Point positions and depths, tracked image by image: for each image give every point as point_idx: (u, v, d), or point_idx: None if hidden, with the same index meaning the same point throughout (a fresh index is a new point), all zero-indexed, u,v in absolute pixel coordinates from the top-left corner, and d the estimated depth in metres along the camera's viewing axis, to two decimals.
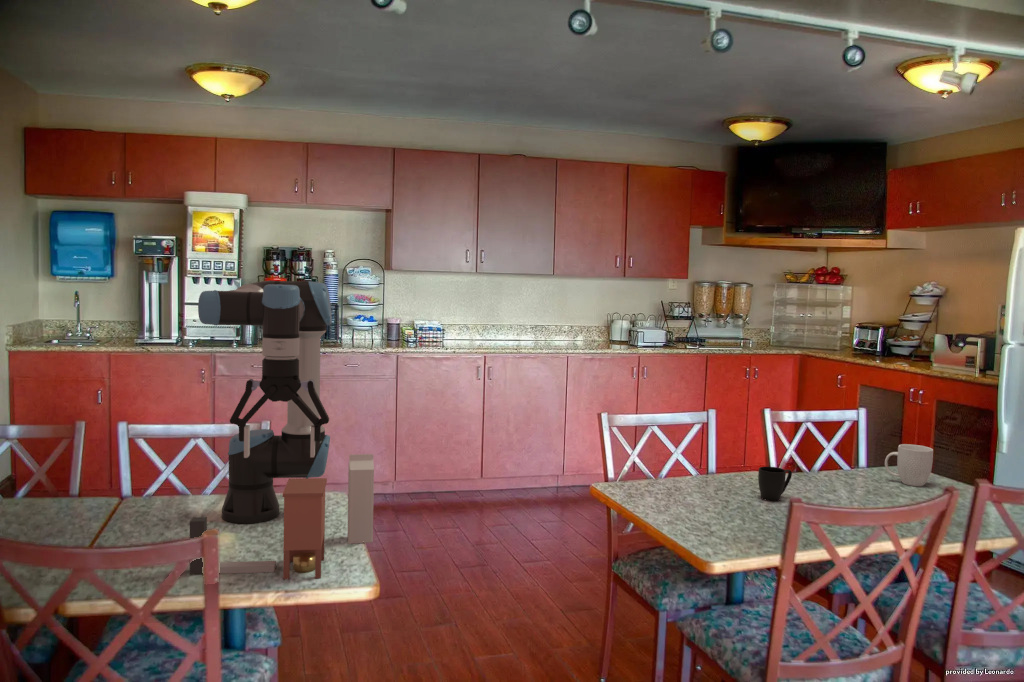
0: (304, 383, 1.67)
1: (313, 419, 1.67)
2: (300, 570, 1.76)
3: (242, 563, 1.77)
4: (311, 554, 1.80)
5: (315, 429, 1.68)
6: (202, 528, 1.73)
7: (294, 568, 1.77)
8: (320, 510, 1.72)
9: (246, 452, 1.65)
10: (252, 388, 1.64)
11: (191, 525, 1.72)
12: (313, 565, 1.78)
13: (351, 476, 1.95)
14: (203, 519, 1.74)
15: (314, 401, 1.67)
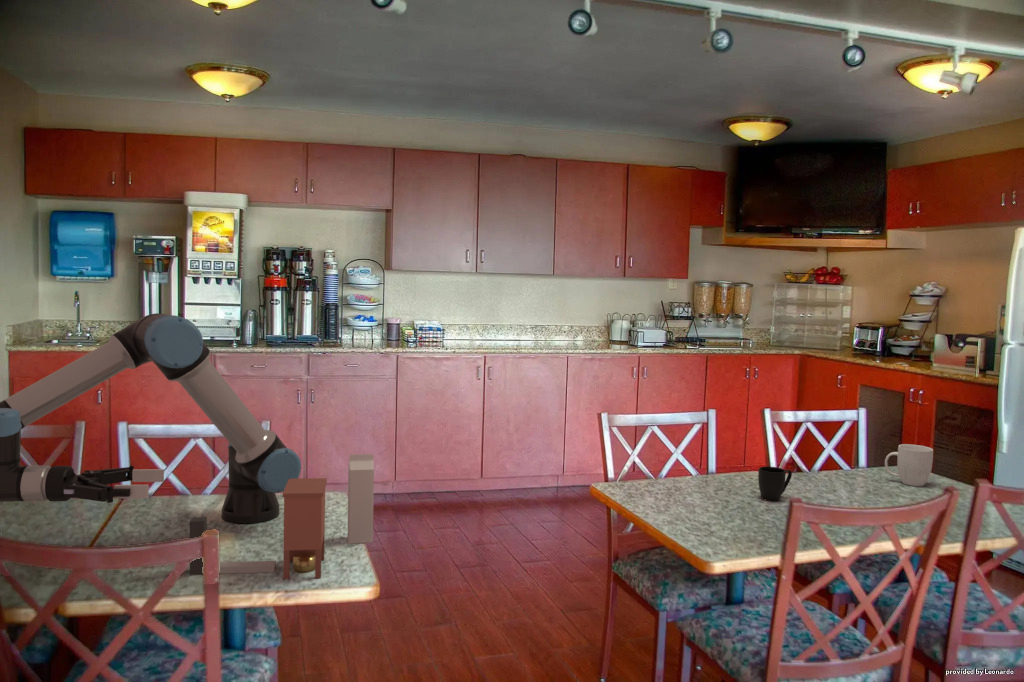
0: None
1: None
2: (300, 570, 1.76)
3: (242, 563, 1.77)
4: (311, 554, 1.80)
5: None
6: (202, 528, 1.73)
7: (294, 568, 1.77)
8: (320, 510, 1.72)
9: (158, 481, 1.78)
10: None
11: (191, 525, 1.72)
12: (313, 565, 1.78)
13: (351, 476, 1.95)
14: (203, 519, 1.74)
15: None
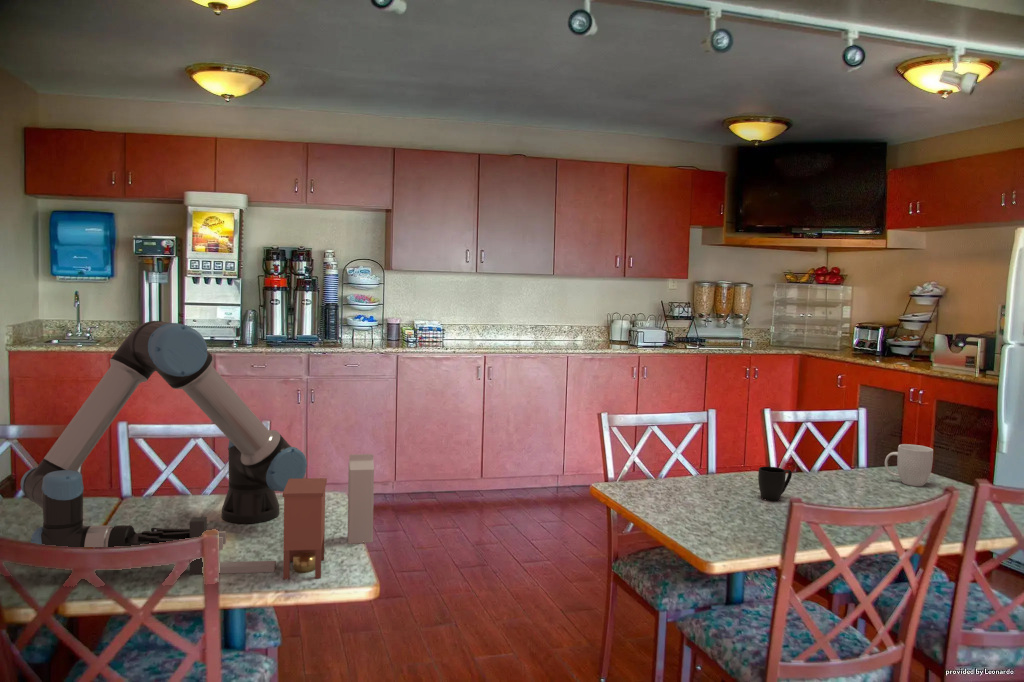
0: None
1: None
2: (300, 570, 1.76)
3: (242, 563, 1.77)
4: (311, 554, 1.80)
5: None
6: (202, 528, 1.73)
7: (294, 568, 1.77)
8: (320, 510, 1.72)
9: None
10: None
11: (191, 525, 1.72)
12: (313, 565, 1.78)
13: (351, 476, 1.95)
14: (203, 519, 1.74)
15: None
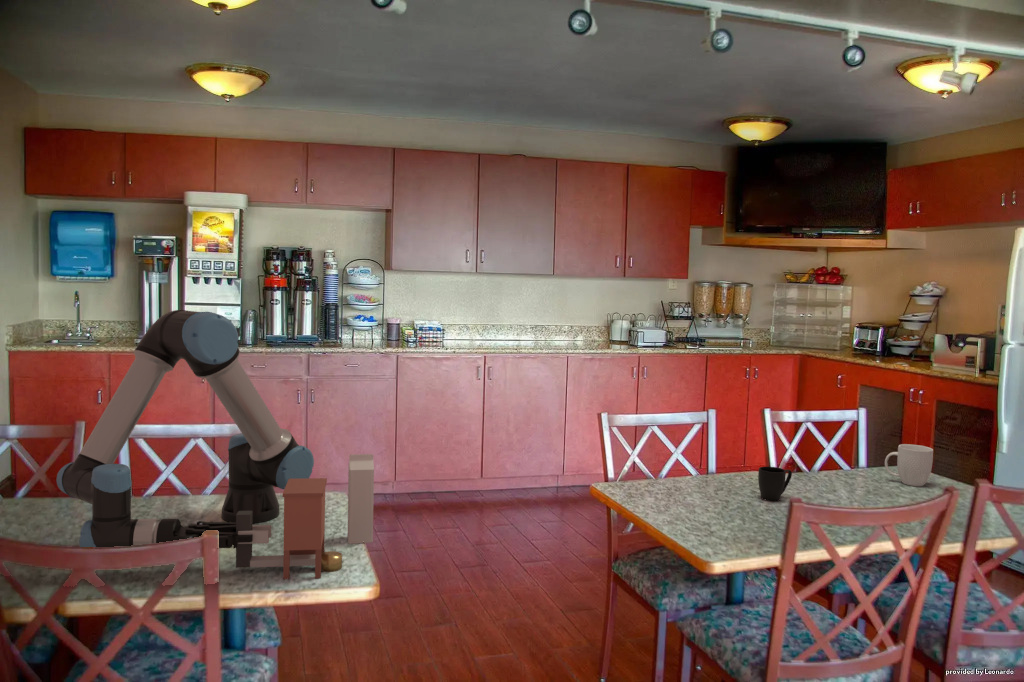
0: None
1: None
2: (327, 568, 1.78)
3: None
4: (337, 553, 1.81)
5: None
6: (248, 521, 1.74)
7: (321, 567, 1.78)
8: (320, 510, 1.72)
9: None
10: None
11: (237, 518, 1.74)
12: (339, 563, 1.79)
13: (351, 476, 1.95)
14: (249, 512, 1.75)
15: None
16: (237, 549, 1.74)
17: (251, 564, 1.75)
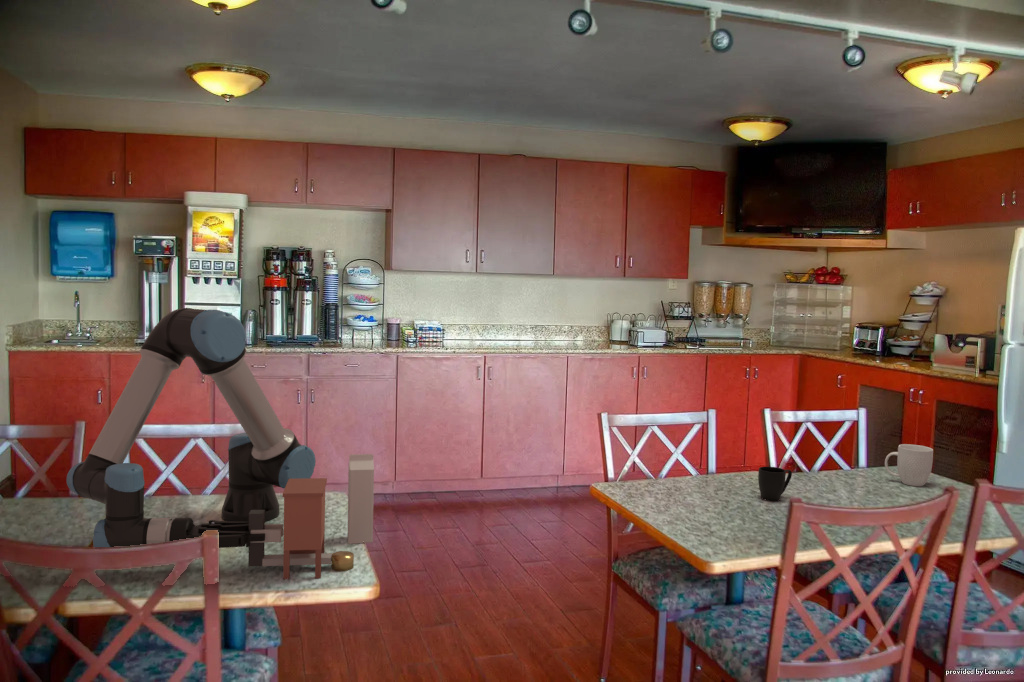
0: None
1: None
2: (338, 568, 1.78)
3: (299, 556, 1.79)
4: (349, 553, 1.82)
5: None
6: (261, 520, 1.75)
7: (332, 566, 1.79)
8: (320, 510, 1.72)
9: None
10: None
11: (250, 517, 1.74)
12: (351, 563, 1.80)
13: (351, 476, 1.95)
14: (261, 512, 1.76)
15: None
16: (250, 548, 1.75)
17: (263, 563, 1.76)
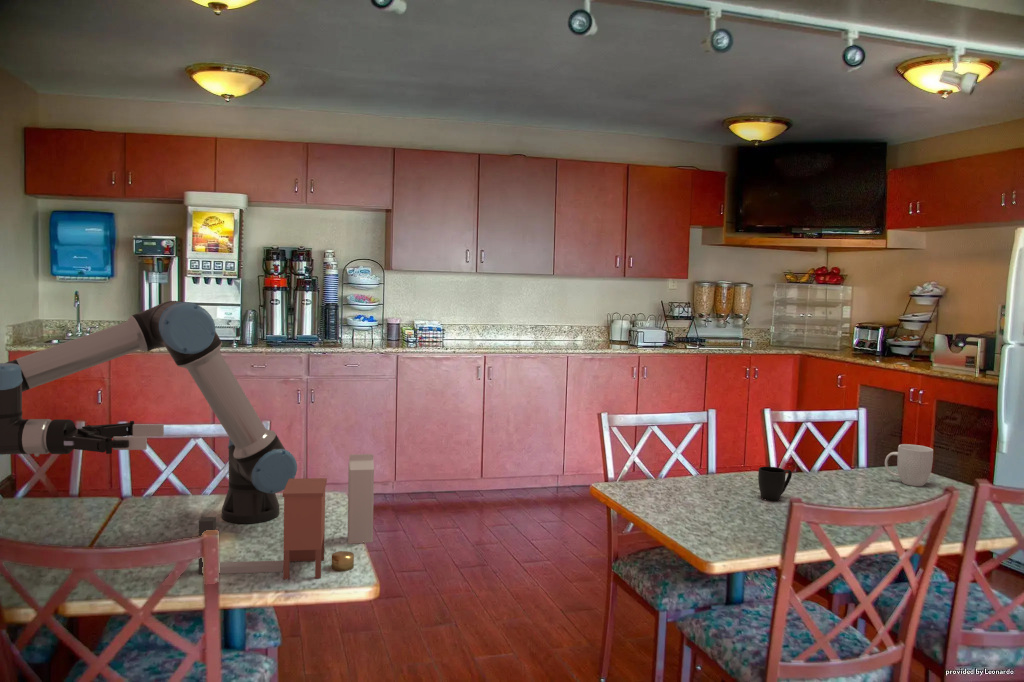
0: None
1: None
2: (338, 568, 1.78)
3: (251, 563, 1.77)
4: (349, 553, 1.82)
5: None
6: (211, 528, 1.73)
7: (332, 566, 1.79)
8: (320, 510, 1.72)
9: None
10: None
11: (200, 525, 1.73)
12: (351, 564, 1.80)
13: (351, 476, 1.95)
14: (212, 519, 1.74)
15: None
16: None
17: None
